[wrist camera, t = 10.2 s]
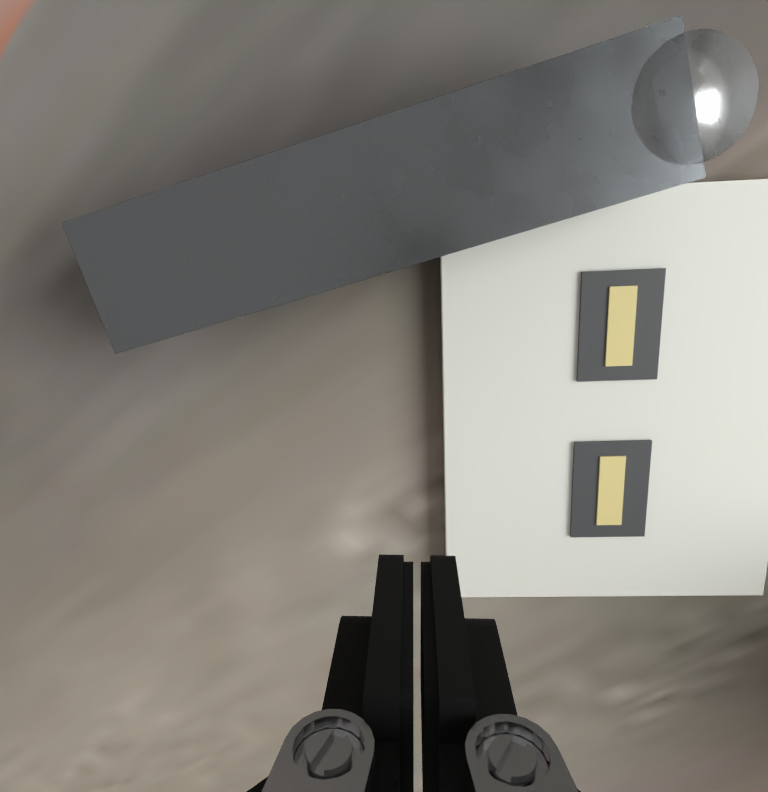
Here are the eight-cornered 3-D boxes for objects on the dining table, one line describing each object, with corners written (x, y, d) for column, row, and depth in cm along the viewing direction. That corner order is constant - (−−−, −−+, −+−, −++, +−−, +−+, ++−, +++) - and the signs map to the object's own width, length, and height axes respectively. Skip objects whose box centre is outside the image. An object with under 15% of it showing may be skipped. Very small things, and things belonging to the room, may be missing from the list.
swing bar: (684, 43, 21) (748, -8, 17) (704, 177, 22) (767, 158, 18) (119, 229, 23) (61, 222, 20) (162, 339, 24) (115, 354, 21)
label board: (437, 123, 24) (440, 108, 22) (813, 100, 23) (856, 83, 21) (446, 584, 30) (448, 610, 27) (748, 581, 29) (777, 608, 26)
